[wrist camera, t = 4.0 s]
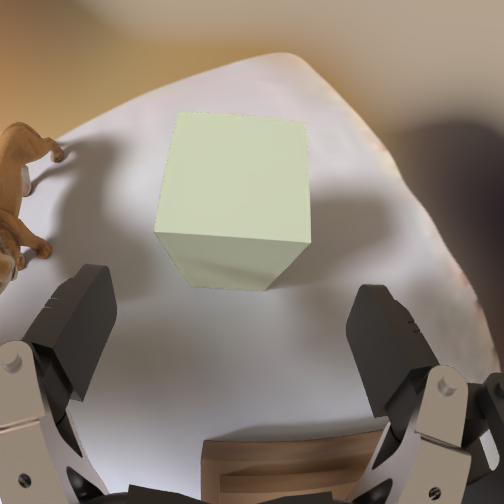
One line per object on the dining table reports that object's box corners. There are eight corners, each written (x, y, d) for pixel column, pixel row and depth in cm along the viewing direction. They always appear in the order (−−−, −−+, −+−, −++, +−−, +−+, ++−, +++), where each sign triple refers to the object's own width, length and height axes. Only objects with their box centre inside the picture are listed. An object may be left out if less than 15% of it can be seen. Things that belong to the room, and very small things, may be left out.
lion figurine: (71, 305, 16) (-20, 279, 8) (17, 317, 16) (-71, 299, 7) (67, 133, 20) (24, 61, 11) (21, 153, 19) (-28, 93, 10)
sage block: (190, 286, 18) (153, 231, 8) (197, 217, 19) (178, 112, 9) (263, 291, 18) (310, 242, 8) (266, 222, 19) (305, 122, 10)
